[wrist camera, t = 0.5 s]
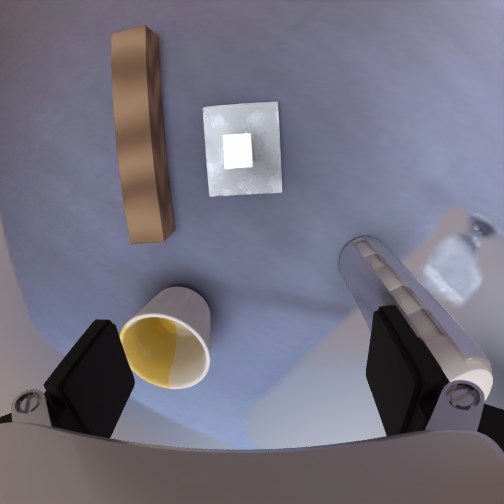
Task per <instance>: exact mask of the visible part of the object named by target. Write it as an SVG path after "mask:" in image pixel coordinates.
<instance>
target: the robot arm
mask: <svg viewBox="0 0 504 504" xmlns="http://www.w3.org/2000/svg"><path fill="white" fill-rule="evenodd" d="M366 378H367V381H368V384H369V386H370V389H371V392H372V394H373V397H374V400H375V403H376V406H377V409H378V412H379V414H380V417H381V420H382V423H383V426H384V429H385V432H386V435H387V436H386V437H380V438H374V439H368V440H362V441H354V442H347V443H339V444H330V445H322V446H312V447H301V448H284V449H257V450H224V449H197V448H182V447H169V446H160V445H151V444H143V443H135V442H129V441H122V440H116V439H110V437H111V435H112V433H113V431H114V428H115V426H116V424H117V422H118V420H119V417H120V415H121V413H122V411H123V409H124V407H125V405H126V402H127V400H128V398H129V396H130V394H131V392H132V390H133V388H134V384H135V381H134V376H133V374H132V371H131V368H130V366H129V363H128V360H127V357H126V354H125V352H124V349H123V346H122V343H121V340H120V337H119V334H118V331H117V328H116V325H115V324H112V322H111V321H110V320H95V321H94V322H93V323H92V324H91V325H90V326H89V328H88V329H87V330H86V331H85V333H84V334H83V335H82V336H81V337H80V339H79V340H78V341H77V342H76V344H75V345H74V346H73V347H72V349H71V350H70V351H69V352H68V354H67V355H66V356H65V357H64V359H63V360H62V361H61V363H60V364H59V365H58V367H57V368H56V369H55V370H54V372H53V373H52V374H51V375H50V377H49V378H48V380H47V381H46V382H45V384H44V387H45V389H46V392H45V393H43V392H42V391H40V390H37V389H30V390H26V391H24V392H22V393H21V394H19V395H18V396H17V397H16V398H15V399H14V400H13V403H12V407H11V410H12V413H10V414H7V415H5V416H2V417H0V504H504V410H502V409H499V408H496V407H493V406H490V405H487V404H484V402H485V396H484V393H483V391H482V390H481V388H480V387H479V386H477V385H476V384H475V383H472V382H470V381H466V380H455V381H452V382H450V381H449V380H448V378H447V377H446V375H445V373H444V372H443V370H442V369H441V367H440V366H439V364H438V362H437V361H436V359H435V358H434V356H433V355H432V353H431V352H430V350H429V349H428V347H427V346H426V344H425V343H424V341H423V340H422V339H421V338H419V337H417V335H416V334H415V332H414V331H413V329H412V328H411V326H410V325H409V323H408V322H407V321H406V319H405V318H404V316H403V315H402V313H401V312H400V310H399V309H398V308H397V306H396V305H387V306H380V307H379V309H378V311H374V313H373V321H372V330H371V339H370V346H369V354H368V360H367V367H366Z"/></svg>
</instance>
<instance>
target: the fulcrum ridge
mask: <svg viewBox="0 0 504 504" xmlns="http://www.w3.org/2000/svg"><path fill="white" fill-rule="evenodd" d="M203 120H204V134H205V148H206V161H207V173H208V185H209V197H212V196H228V195H245V194H265V193H282V171H281V151H280V132H279V114H278V102H260V103H243V104H230V105H219V106H209V107H203Z"/></svg>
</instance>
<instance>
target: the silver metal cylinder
mask: <svg viewBox="0 0 504 504" xmlns="http://www.w3.org/2000/svg"><path fill="white" fill-rule="evenodd" d="M339 268H340V272H341V274H342V276H343V278H344V280H345V282H346V284H347V285H348V287H349V289H350V291H351V293H352V295H353V297H354V299H355V301H356V303H357V305H358V307H359V309H360V311H361V313H362V315H363V317H364V319H365V321H366V323H367V325H368V327H369V329H370V331H371V330H372V321H373V313H374V311H378V309H379V307H380V306H387V305H396V306H397V308H398V309H399V310H400V312H401V313H402V315H403V316H404V318H405V319H406V321H407V322H408V323H409V325H410V326H411V328H412V329H413V331H414V332H415V334H416V335H417V337H419V338H421V339H422V340H423V341H424V343H425V344H426V346H427V347H428V349H429V350H430V352H431V353H432V355H433V356H434V358H435V359H436V361H437V362H438V364H439V366H440V367H441V369H442V370H443V372H444V373H445V375H446V377H447V378H448V380H449V381H450V382H452V381H455V380H466V381H470V382H472V383H475V384H476V385H477V386H479V387H480V388H481V390H482V391H483V393H484V396H485V400H486V399H487V397H488V395H489V392H490V390H491V387H492V384H493V377H492V366H491V364H490V362H489V360H488V359H487V357H486V356H485V355H484V354H483V352H482V351H481V350H480V349H479V347H478V346H477V345H476V344H475V343H474V341H473V340H472V339H471V338H470V337H469V335H468V334H467V333H466V332H465V331H464V330H463V329H462V327H461V326H460V325H459V324H458V323H457V321H456V320H455V319H454V318H453V317H452V316H451V315H450V313H449V312H448V311H447V310H446V309H445V308H444V307H443V306H442V305H441V303H440V302H439V301H438V300H437V299H436V298H435V297H434V296H433V295H432V294H431V293H430V291H429V290H428V289H427V288H426V287H425V286H424V285H423V284H422V283H421V282H420V281H419V280H418V279H417V278H416V277H415V276H414V275H413V274H412V273H411V272H410V270H409V269H408V268H407V267H406V266H405V265H404V264H403V263H402V262H401V261H400V260H399V259H398V258H397V257H396V256H395V255H394V254H393V253H392V252H391V251H390V250H389V249H388V248H387V247H386V246H385V245H384V244H383V243H382V242H380V241H379V240H377V239H376V238H373V237H370V236H362V237H358V238H356V239H354V240H352V241H350V242H349V243H348V244H347V245H346V246H345V247H344V249H343V250H342V252H341V255H340V257H339Z"/></svg>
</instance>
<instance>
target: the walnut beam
mask: <svg viewBox="0 0 504 504" xmlns="http://www.w3.org/2000/svg"><path fill="white" fill-rule="evenodd" d="M111 51H112V89H113V107H114V121H115V133H116V144H117V153H118V162H119V171H120V179H121V186H122V193H123V200H124V207H125V213H126V219H127V225H128V231H129V237H130V242H131V244H142V243H157V242H165V240H166V239H167V238H168V237H169V236H170V235H171V234H172V233H173V232H174V231H175V224H174V216H173V209H172V201H171V193H170V184H169V175H168V166H167V157H166V146H165V135H164V124H163V111H162V97H161V80H160V60H159V37H158V36H157V35H156V34H155V33H154V32H153V31H152V30H150V29H149V28H148V27H147V26H146V25H144V26H140V27H136V28H132V29H128V30H125V31H121V32H118V33H114V34H112V39H111Z"/></svg>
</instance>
